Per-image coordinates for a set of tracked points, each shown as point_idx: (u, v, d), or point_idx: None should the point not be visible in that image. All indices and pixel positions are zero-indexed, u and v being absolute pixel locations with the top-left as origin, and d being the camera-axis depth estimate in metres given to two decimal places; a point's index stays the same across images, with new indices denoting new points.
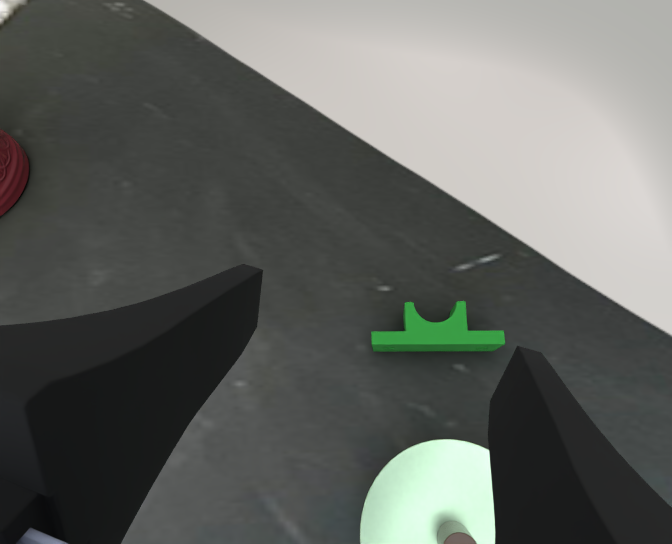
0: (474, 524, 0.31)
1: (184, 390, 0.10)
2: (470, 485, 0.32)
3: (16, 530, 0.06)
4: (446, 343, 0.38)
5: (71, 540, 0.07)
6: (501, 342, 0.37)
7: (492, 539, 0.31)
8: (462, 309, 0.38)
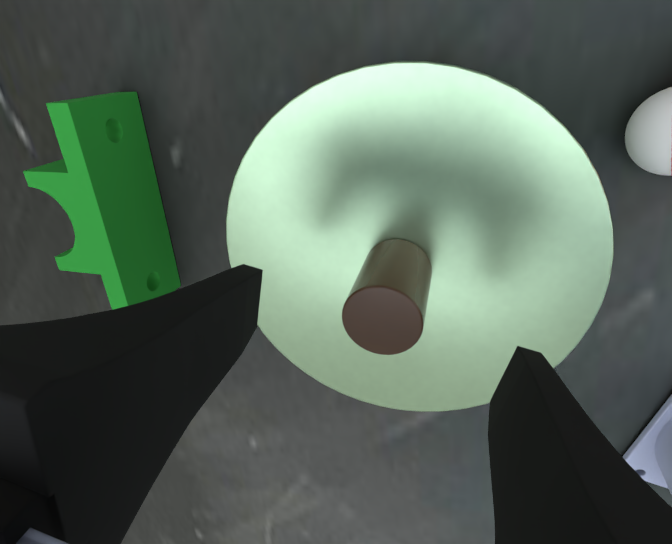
0: (370, 228, 0.15)
1: (184, 390, 0.10)
2: (301, 225, 0.16)
3: (16, 530, 0.06)
4: (100, 211, 0.21)
5: (71, 540, 0.07)
6: (67, 110, 0.18)
7: (397, 196, 0.14)
8: (37, 177, 0.21)
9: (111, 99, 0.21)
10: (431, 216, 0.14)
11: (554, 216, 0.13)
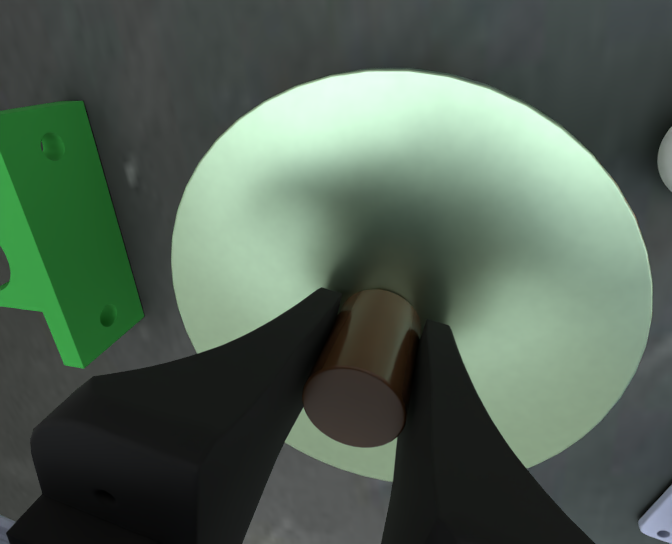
0: (343, 274, 0.12)
1: (281, 424, 0.09)
2: (261, 269, 0.13)
3: None
4: (35, 242, 0.18)
5: None
6: None
7: (376, 238, 0.11)
8: None
9: (48, 110, 0.18)
10: (419, 263, 0.11)
11: (576, 267, 0.10)
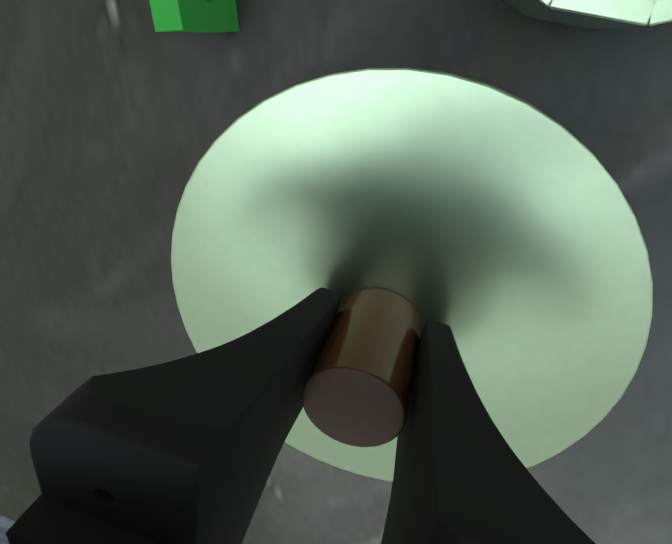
0: (343, 274, 0.12)
1: (280, 424, 0.09)
2: (260, 268, 0.13)
3: None
4: None
5: None
6: None
7: (375, 237, 0.11)
8: None
9: None
10: (419, 262, 0.11)
11: (576, 266, 0.10)
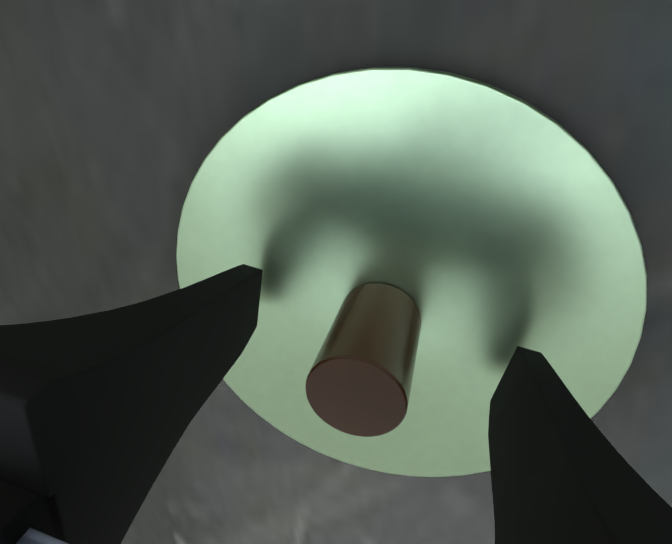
0: (345, 269, 0.12)
1: (184, 390, 0.10)
2: (264, 264, 0.13)
3: (16, 530, 0.06)
4: None
5: (71, 540, 0.07)
6: None
7: (377, 233, 0.12)
8: None
9: None
10: (419, 257, 0.12)
11: (572, 261, 0.11)
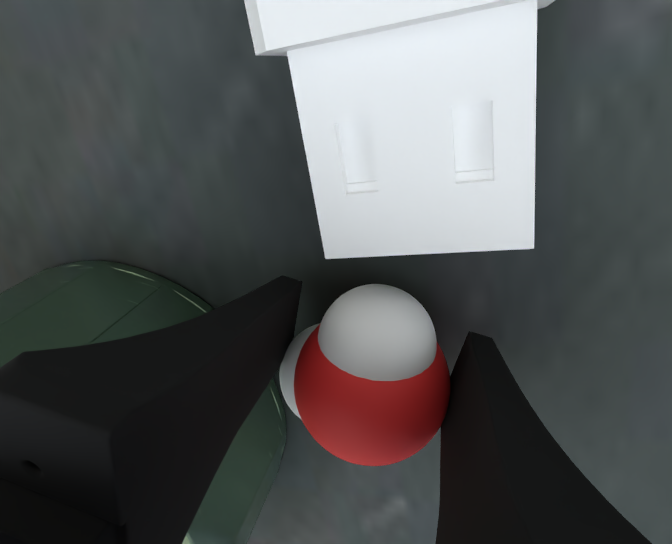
0: None
1: (232, 407, 0.10)
2: None
3: None
4: None
5: None
6: None
7: None
8: None
9: None
10: None
11: None
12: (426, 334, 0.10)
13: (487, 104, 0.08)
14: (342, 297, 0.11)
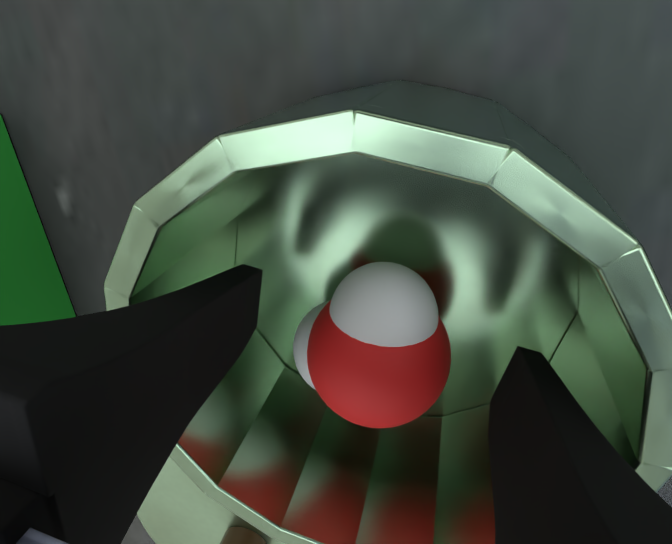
0: (224, 518, 0.22)
1: (184, 390, 0.10)
2: (181, 508, 0.23)
3: (16, 530, 0.06)
4: None
5: (71, 540, 0.07)
6: None
7: None
8: None
9: None
10: None
11: None
12: (429, 305, 0.11)
13: None
14: (352, 273, 0.12)
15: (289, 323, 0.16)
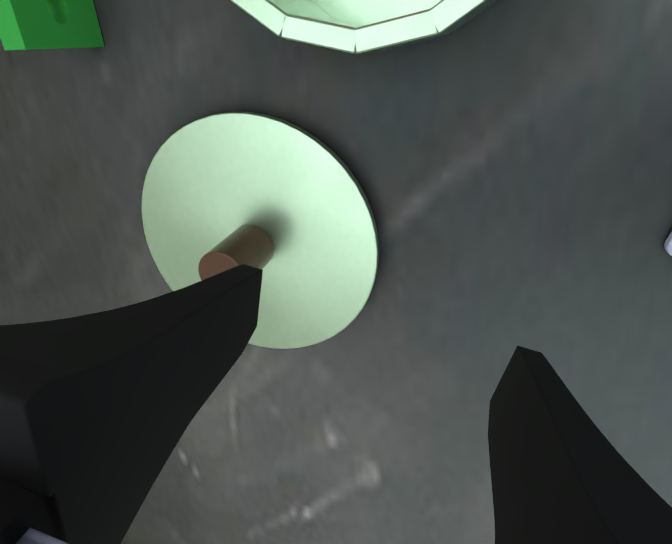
0: (231, 217, 0.23)
1: (184, 390, 0.10)
2: (189, 216, 0.24)
3: (16, 530, 0.06)
4: None
5: (71, 540, 0.07)
6: None
7: (244, 196, 0.22)
8: None
9: None
10: (266, 209, 0.22)
11: (336, 209, 0.21)
12: None
13: None
14: None
15: None
